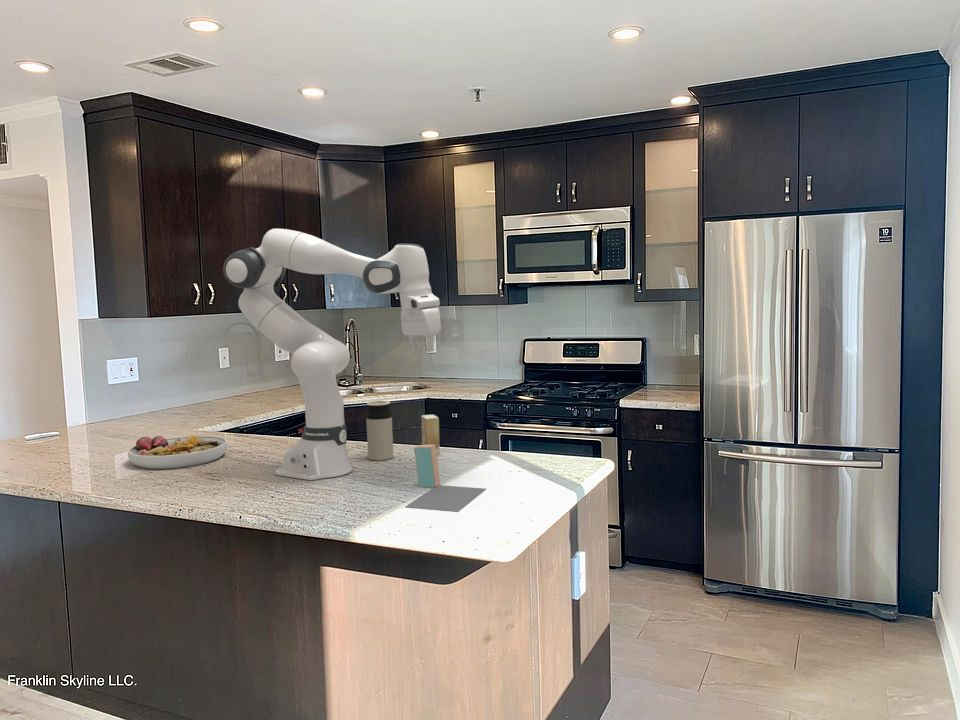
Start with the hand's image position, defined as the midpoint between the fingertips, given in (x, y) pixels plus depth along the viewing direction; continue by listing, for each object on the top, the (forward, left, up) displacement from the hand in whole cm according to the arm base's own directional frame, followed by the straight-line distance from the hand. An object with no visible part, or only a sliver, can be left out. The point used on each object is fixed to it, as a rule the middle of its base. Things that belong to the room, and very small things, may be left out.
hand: (423, 351), depth 197 cm
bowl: (-90, +1, -36) cm, 97 cm away
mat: (+13, -18, -36) cm, 42 cm away
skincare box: (-12, +28, -36) cm, 47 cm away
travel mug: (-25, +18, -36) cm, 47 cm away
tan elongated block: (+5, -9, -36) cm, 37 cm away
